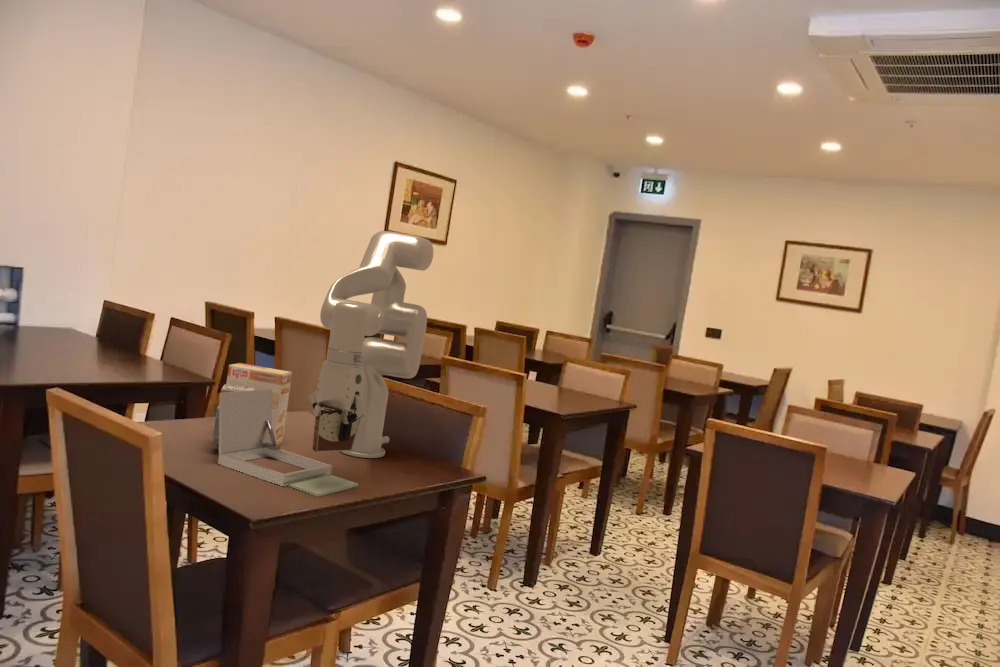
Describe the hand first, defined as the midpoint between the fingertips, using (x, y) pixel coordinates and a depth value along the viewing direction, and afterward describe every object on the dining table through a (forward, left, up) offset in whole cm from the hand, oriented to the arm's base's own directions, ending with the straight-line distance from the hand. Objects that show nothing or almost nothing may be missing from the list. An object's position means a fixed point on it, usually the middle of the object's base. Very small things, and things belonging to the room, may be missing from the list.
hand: (332, 436), depth 168 cm
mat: (0, 0, -12) cm, 12 cm away
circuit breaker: (-3, -33, -12) cm, 36 cm away
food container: (0, -1, -3) cm, 3 cm away
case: (0, -16, -12) cm, 20 cm away
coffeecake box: (-15, -38, -12) cm, 43 cm away
